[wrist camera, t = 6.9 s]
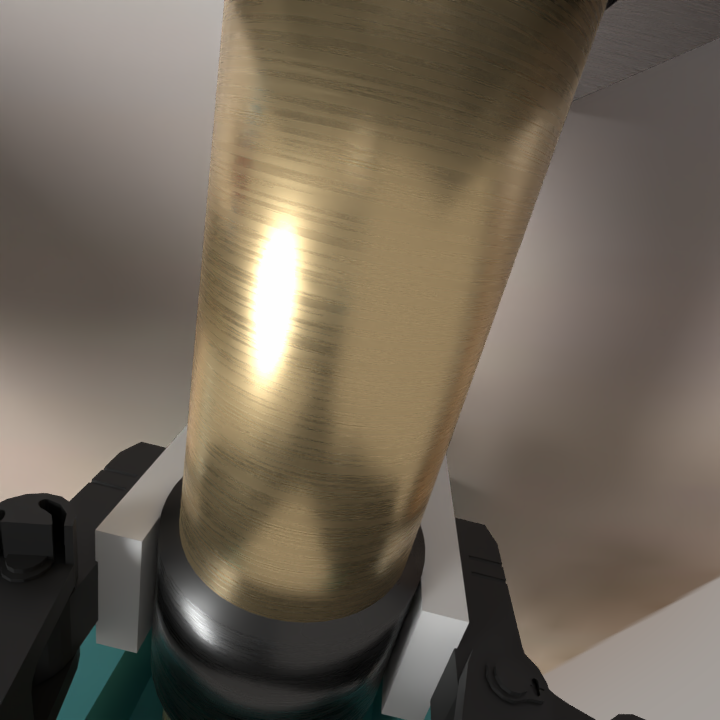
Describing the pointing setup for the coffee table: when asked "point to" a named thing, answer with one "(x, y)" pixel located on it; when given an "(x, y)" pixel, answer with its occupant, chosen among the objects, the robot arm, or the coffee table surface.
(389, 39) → the brass tube
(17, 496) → the robot arm
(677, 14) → the grey matte cuboid
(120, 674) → the socket
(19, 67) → the coffee table surface
